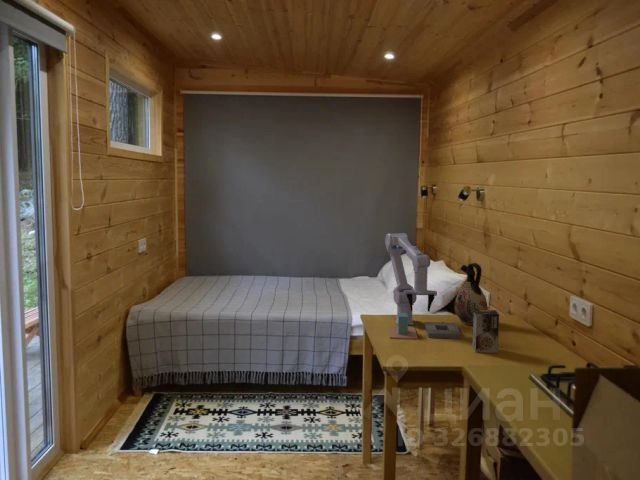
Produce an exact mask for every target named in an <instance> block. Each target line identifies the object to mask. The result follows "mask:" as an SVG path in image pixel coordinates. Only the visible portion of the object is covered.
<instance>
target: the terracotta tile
mask: <svg viewBox="0 0 640 480" xmlns="http://www.w3.org/2000/svg"><path fill="white" fill-rule="evenodd" d="M388 333H389V334H388V335H389V339H390V338H395V340H396V339H397V340H418V334H417V332H416V328H415V327H412V326H411V327H409V326H408V334H398V326H388Z"/></svg>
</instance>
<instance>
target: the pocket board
mask: <svg viewBox="0 0 640 480" xmlns="http://www.w3.org/2000/svg"><path fill="white" fill-rule="evenodd" d="M424 329H425V332H426V335H427V337H428V339H429V338H431V339H462V333H461V331H460V329H459V328H458V325H457V324H456V323H455V322H444V321H443V322H442V321H441V322H439V321H438V322H436V321H435V322H433V321H424Z"/></svg>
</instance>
